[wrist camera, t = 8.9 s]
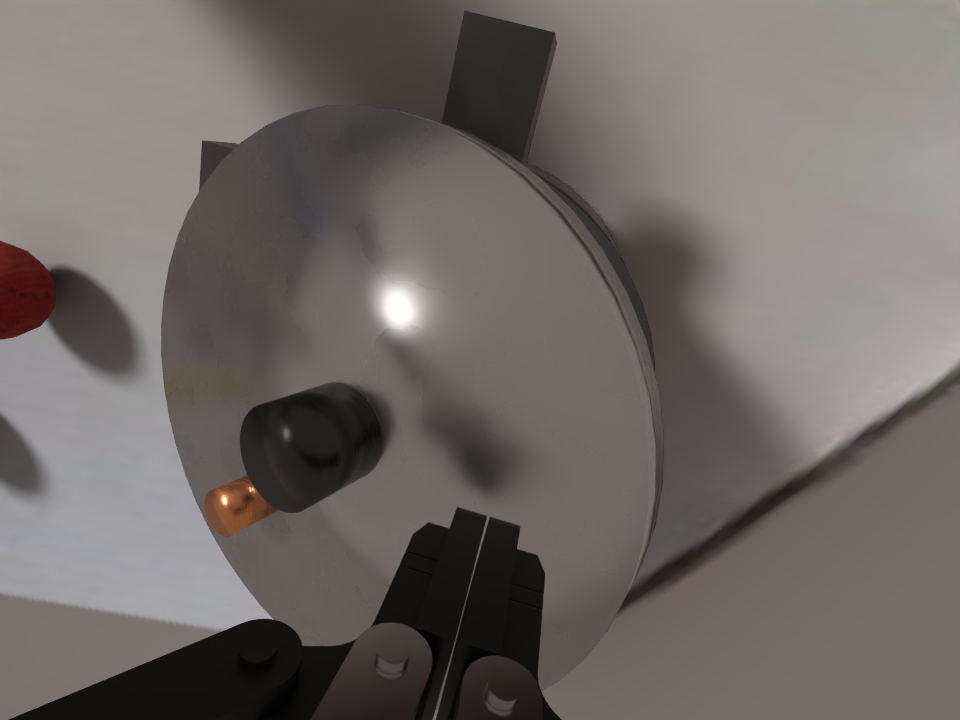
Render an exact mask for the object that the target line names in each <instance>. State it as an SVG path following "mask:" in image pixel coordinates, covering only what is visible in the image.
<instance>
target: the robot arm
mask: <svg viewBox="0 0 960 720" xmlns="http://www.w3.org/2000/svg"><path fill="white" fill-rule="evenodd" d="M486 519H487V516H486V515H483V514H479V513H476V512H473V511H469V510H466V509H463V508H459V507H457V509H456V511H455V514H454V517H453V520H452V523H451V525H450V528H446V527H443V526H439V525H436V524H433V523H430V522H428V523H427V524H425V525H424V526H423V527H421V528H420V529H419V530H418V531H416V532H415V533H414V534H413V535H412V538H411V540H410V542H409V544H408V547H407V549H406V552H405V554H404V556H403V558H402V560H401V562H400V565H399V568H398V569H397V571H396V574H395V576H394V578H393V580H392V583H391V585H390V587H389V589H388V592H387V594H386V596H385V598H384V600H383V603H382V605H381V607H380V609H379V612H378V614H377V616H376V618H375V620H374V622H373V624H372V626H371V627H370V628H368V629H367V630H365V631H364V632H363V633H362V634H361V635H360V636H359V637H358V638H357V639H355V640H353V641H351V642H348V643H345V644H342V645H336V646H302V641H301V639H300V637H299V635H298V634H297V633H296V631H295V630H294V629H293V628H291V627H290V626H289V625H287V624H285V623H283V622H280V621H277V620H272V619H256V620H251V621H247V622H244V623H241V624H239V625H237V626H234V627H232V628H229V629H227V630H225V631H222V632H220V633H217V634H215V635H212V636H210V637H208V638H205V639H203V640H200V641H198V642H195V643H193V644H191V645H188V646H186V647H183V648H181V649H179V650H176V651H174V652H171V653H169V654H167V655H164V656H162V657H159V658H157V659H154V660H152V661H150V662H147V663H145V664H142V665H140V666H137V667H135V668H133V669H130V670H128V671H125V672H123V673H121V674H118V675H116V676H113V677H111V678H108V679H106V680H104V681H101V682H99V683H96V684H94V685H91V686H89V687H87V688H84V689H82V690H79V691H77V692H74V693H72V694H70V695H68V696H65V697H62V698H60V699H58V700H55V701H53V702H50V703H48V704H45V705H43V706H41V707H39V708H36V709H33V710H31V711H28V712H26V713H24V714H21V715H19V716H16V717H14V718H12V719H9V720H432V719H433V716H434V713H435V709H436V706H437V702H438V699H439V695H440V692H441V688H442V685H443V681H444V678H445V674H446V671H447V668H448V664H449V661H450V657H451V654H452V650H453V647H454V643H455V640H456V643H455V647H454V651H453V654H452V658H451V662H450V666H449V670H448V674H447V678H446V682H445V686H444V690H443V694H442V698H441V701H440V705H439V709H438V714H437V717H436V720H561V719H560V718H559V717H558V716H557V715H556V714H555V713H554V711H553V710H552V709H551V708H550V707H549V705H548V703H547V702H546V700H545V699H544V696H543V695H542V692H541V689H540V686H539V681H538V663H539V650H540V637H541V625H542V609H543V599H544V597H543V595H544V586H545V572H544V570H543V567H542V565H541V562H540V560H539V557H538V555H535V554H532V553H529V552H526V551H522V550H519V549H517V546H518V540H519V533H520V525H516V524H513V523H510V522H506V521H503V520H500V519H496V518H493V517H490V518H489V521H488V525H487V528H486V532H485V535H484V539H483V542H482V546H481V549H480V552H479V556H478V559H477V563H476V566H475V562H476V558H477V554H478V550H479V546H480V542H481V538H482V535H483V531H484V527H485V523H486ZM474 566H475V570H474ZM473 570H474V573H473ZM472 573H473V577H472ZM471 577H472V581H471ZM470 581H471V584H470ZM469 585H470V588H469ZM468 589H469V592H468ZM467 593H468V596H467ZM466 597H467V600H466ZM465 601H466V604H465ZM464 605H465V607H464ZM463 609H464V611H463ZM462 612H463V615H462ZM461 616H462V619H461ZM460 620H461V623H460ZM459 624H460V627H459ZM458 628H459V631H458ZM457 632H458V635H457ZM456 636H457V639H456Z"/></svg>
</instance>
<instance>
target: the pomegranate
mask: <svg viewBox="0 0 960 720" xmlns="http://www.w3.org/2000/svg"><path fill="white" fill-rule="evenodd" d="M55 301H56V286H55V284H54V281H53V279H52V276H51V275H50V273H49V272H48V270H47V269H46V268H45V266H44V265H43V264H42V263H41V262H40V261H38V260H37V259H36V258H35V257H34V256H32V255H31V254H30V253H29V252H28V251H25V250H23V249H21V248H18V247H16V246H13V245H10V244H7V243H5V242H2V241H0V340H1V339H7V338H14V337H16V336H19V335H21V334H24V333H26V332H28V331H31V330H33V329H35V328H37V327H40V326H41V325H42V324H43V323H44V322H45V320H46V319H47V318H48V317H49V315H50V314H51V312H52V310H53V309H54V307H55Z"/></svg>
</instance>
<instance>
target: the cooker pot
mask: <svg viewBox="0 0 960 720" xmlns="http://www.w3.org/2000/svg"><path fill="white" fill-rule="evenodd" d="M556 45H557V41H556V36H555V33H554V32H550V31H546V30H542V29H538V28H534V27H529V26H525V25H521V24H517V23H513V22H509V21H505V20H501V19H496V18H492V17H488V16H484V15H480V14H476V13H472V12H468V11H464V16H463V21H462V26H461V31H460V36H459V41H458V46H457V51H456V56H455V61H454V66H453V71H452V76H451V81H450V86H449V91H448V96H447V101H446V106H445V111H444V116H443V121H442V124H445V125H448V126H451V127H454V128H457V129H460V130H462V131H465V132H468V133H471V134H473V135H474V136H476V137H478V138H480V139H482V140H484V141H486V142H488V143H489V144H491V145H493V146H495V147H497V148H499V149H501V150H503V151H504V152H506V153H507V154H509V155H510V156H511V157H513V158H514V159H516V160H517V161H518V162H520V163H521V164H522V165H524V166H525V167H526V168H528V169H529V170H530V171H532V172H533V173H534V174H536V175H537V176H538V177H540V178H541V179H542V180H543V181H544V182H545V183H546V184H547V185H548V186H549V187H550V188H551V189H552V190H553V191H554V192H555V193H556V194H557V195H558V196H559V197H560V198H561V199H562V200H563V201H564V202H565V203H566V204H567V205H568V206H569V207H570V208H571V209H572V210H573V211H574V212H575V214H576V215H577V216H578V218H579V219H580V220H581V222H582V223H583V224H584V226H585V227H586V228H587V230H588V231H589V232H590V234H591V235H592V236H593V238H594V239H595V240H596V242H597V243H598V244H599V246H600V247H601V248H602V250H603V251H604V253H605V255H606V256H607V258H608V260H609V262H610V263H611V265H612V267H613V269H614V271H615V272H616V274H617V276H618V278H619V279H620V281H621V283H622V285H623V287H624V288H625V290H626V292H627V294H628V296H629V299H630V301H631V304H632V306H633V309H634V311H635V314H636V316H637V319H638V321H639V324H640V326H641V328H642V331H643V333H644V336H645V338H646V341H647V345H648V349H649V353H650V357H651V361H652V365H653V369H654V373H655V361H654V354H653V346H652V338H651V333H650V329H649V325H648V322H647V318H646V315H645V311H644V308H643V304H642V302H641V299H640V297H639V295H638V293H637V290H636V288H635V286H634V283H633V281H632V279H631V277H630V274H629V272H628V270H627V268H626V266H625V264H624V262H623V260H622V258H621V256H620V254H619V252H618V250H617V248H616V246H615V243H614V241H613V239H612V237H611V235H610V234H609V232H608V230H607V229H606V227H605V226H604V224H603V222H602V221H601V219H600V218H599V216H598V215H597V214H596V213H595V211H594V210H593V209H592V208H591V207H590V205H589V204H588V203H587V202H586V201H585V200H584V199H583V198H582V197H581V196H580V195H579V194H578V193H576V192H575V191H574V190H573V189H572V188H571V187H570V186H568V185H567V184H565V183H564V182H562V181H561V180H560V179H558V178H557V177H555V176H554V175H552V174H550V173H548V172H546V171H544V170H542V169H540V168H538V167H536V166H534V165H531V164H528V163H526V162H527V158H528V154H529V150H530V146H531V142H532V138H533V134H534V131H535V127H536V123H537V119H538V115H539V111H540V107H541V104H542V100H543V96H544V92H545V88H546V84H547V80H548V76H549V73H550V69H551V65H552V61H553V57H554V53H555V49H556ZM238 145H239V144H236V143H226V142H214V141H202V153H201V170H200V187H199V191H200V189H201V188H202V186H203V184H204V183H205V182H206V180H207V179H208V178H209V177H210V175H211V174H212V173H213V171H214V170H215V169H216V167H217V166H218V165H219V164H220V162H221V161H222V160H223V159H224V158H225V157H226V156H228V155H229V154H230V153H231V152H232V151H233V150H234V149H235V148H236V147H237V146H238Z"/></svg>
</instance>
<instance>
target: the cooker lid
mask: <svg viewBox="0 0 960 720" xmlns="http://www.w3.org/2000/svg"><path fill="white" fill-rule="evenodd" d="M161 356H162V368H163V379H164V388H165V395H166V401H167V407H168V413H169V418H170V422H171V426H172V430H173V434H174V439H175V443H176V446H177V450H178V453H179V456H180V459H181V462H182V465H183V468H184V472H185V475H186V477H187V480H188V482H189V485H190V487H191V490H192V492H193V495H194V497H195V500H196V502H197V504H198V506H199V508H200V511H201V513H202V515H203V517H204V519H205V521H206V523H207V525H208V527H209V529H210V531H211V533H212V535H213V536H214V538H215V540H216V542H217V543H218V545H219V547H220V548H221V550H222V552H223V554H224V555H225V557H226V559H227V560H228V562H229V563H230V565H231V566H232V567H233V569H234V570H235V572H236V573H237V575H238V576H239V578H240V579H241V581H242V582H243V583H244V585H245V586H246V587H247V589H248V590H249V591H250V592H251V594H252V595H253V596H254V597H255V599H256V600H257V601H258V602H259V604H260V605H261V606H262V607H263V608H264V609H265V610H266V612H267V613H268V614H269V615H270V616H271V617H272V618H273V619H274V620H277V621H280V622H283V623H285V624H287V625H289V626H290V627H291V628H293V629H294V630H295V631H296V633H297V634H298V635H299V637H300V639H301V641H302V646H336V645H342V644H345V643H348V642H351V641H353V640H355V639H357V638H358V637H359V636H360V635H361V634H362V633H363V632H364V631H365V630H367V629H368V628H370V627H371V626H372V624H373V622H374V620H375V618H376V616H377V614H378V612H379V609H380V607H381V605H382V603H383V600H384V598H385V596H386V594H387V592H388V589H389V587H390V585H391V583H392V580H393V578H394V576H395V574H396V571H397V569H398V568H399V565H400V562H401V560H402V558H403V556H404V554H405V552H406V549H407V547H408V544H409V542H410V540H411V538H412V535H413V534H414V533H415V532H416V531H418V530H419V529H420V528H421V527H423V526H424V525H425V524H427V523H428V522H430V523H433V524H436V525H439V526H443V527H446V528H450V525H451V523H452V520H453V517H454V514H455V511H456V509H457V507H459V508H463V509H466V510H469V511H473V512H476V513H479V514H483V515H486V516H487V519H486V523H485V527H484V531H483V535H482V538H481V542H480V546H479V550H478V554H477V558H476V562H475V566H476V563H477V559H478V556H479V552H480V549H481V546H482V542H483V539H484V535H485V532H486V528H487V525H488V521H489V518H490V517H493V518H496V519H500V520H503V521H506V522H510V523H513V524H516V525H520V533H519V540H518V546H517V549H519V550H522V551H526V552H529V553H532V554H535V555H538V557H539V560H540V562H541V565H542V567H543V570H544V572H545V586H544V595H543V597H544V599H543V609H542V625H541V637H540V650H539V663H538V681H539V686H540V689H541V691H542V690H544V689H545V688H547V687H549V686H551V685H553V684H555V683H557V682H558V681H559V680H561V678H563V677H564V676H565V675H566V674H568V673H569V672H570V671H571V670H572V669H574V668H575V667H576V666H577V665H578V664H580V663H581V662H582V661H583V660H584V659H585V658H586V657H587V655H588V654H589V653H590V652H591V651H592V649H593V648H594V647H595V646H596V644H597V643H598V642H599V641H600V639H601V638H602V637H603V636H604V634H605V633H606V632H607V631H608V629H609V627H610V625H611V623H612V621H613V620H614V618H615V616H616V614H617V612H618V610H619V609H620V607H621V605H622V603H623V601H624V599H625V598H626V596H627V594H628V592H629V590H630V587H631V585H632V583H633V581H634V579H635V577H636V575H637V573H638V571H639V569H640V567H641V565H642V563H643V560H644V557H645V554H646V551H647V548H648V545H649V542H650V540H651V537H652V534H653V531H654V528H655V525H656V519H657V513H658V508H659V502H660V496H661V490H662V485H663V459H664V431H663V423H662V414H661V405H660V397H659V388H658V384H657V380H656V377H655V373H654V369H653V365H652V361H651V357H650V353H649V349H648V345H647V341H646V338H645V336H644V333H643V331H642V328H641V326H640V324H639V321H638V319H637V316H636V314H635V311H634V309H633V306H632V304H631V301H630V299H629V296H628V294H627V292H626V290H625V288H624V287H623V285H622V283H621V281H620V279H619V278H618V276H617V274H616V272H615V271H614V269H613V267H612V265H611V263H610V262H609V260H608V258H607V256H606V255H605V253H604V251H603V250H602V248H601V247H600V246H599V244H598V243H597V242H596V240H595V239H594V238H593V236H592V235H591V234H590V232H589V231H588V230H587V228H586V227H585V226H584V224H583V223H582V222H581V220H580V219H579V218H578V216H577V215H576V214H575V212H574V211H573V210H572V209H571V208H570V207H569V206H568V205H567V204H566V203H565V202H564V201H563V200H562V199H561V198H560V197H559V196H558V195H557V194H556V193H555V192H554V191H553V190H552V189H551V188H550V187H549V186H548V185H547V184H546V183H545V182H544V181H543V180H542V179H541V178H540V177H538V176H537V175H536V174H534V173H533V172H532V171H530V170H529V169H528V168H526V167H525V166H524V165H522V164H521V163H520V162H518V161H517V160H516V159H514V158H513V157H511V156H510V155H509V154H507V153H506V152H504V151H503V150H501V149H499V148H497V147H495V146H493V145H491V144H489V143H488V142H486V141H484V140H482V139H480V138H478V137H476V136H474V135H473V134H471V133H468V132H465V131H462V130H460V129H457V128H454V127H451V126H448V125H445V124H442V123H439V122H436V121H433V120H430V119H426V118H423V117H420V116H416V115H413V114H410V113H406V112H403V111H400V110H394V109H388V108H381V107H375V106H368V105H362V104H359V105H327V106H323V107H318V108H314V109H309V110H305V111H300V112H296V113H293V114H291V115H289V116H286V117H284V118H282V119H280V120H277V121H275V122H273V123H270V124H268V125H266V126H265V127H263V128H262V129H260V130H259V131H257V132H256V133H254V134H253V135H251V136H250V137H248V138H247V139H245V140H244V141H242V142H241V143H240V144H239V145H238V146H237V147H236V148H235V149H234V150H233V151H232V152H231V153H230V154H229V155H228V156H226V157H225V158H224V159H223V160H222V161H221V162H220V164H219V165H218V166H217V167H216V169H215V170H214V171H213V173H212V174H211V175H210V177H209V178H208V179H207V180H206V182H205V183H204V184H203V186H202V188H201V189H200V191H199V193H198V195H197V196H196V198H195V200H194V202H193V203H192V205H191V207H190V209H189V210H188V213H187V215H186V218H185V220H184V222H183V225H182V227H181V230H180V232H179V235H178V237H177V240H176V244H175V247H174V251H173V254H172V258H171V261H170V265H169V269H168V275H167V280H166V286H165V292H164V299H163V311H162V323H161ZM475 566H474V570H475ZM474 570H473V573H474ZM473 573H472V577H473ZM472 577H471V581H472ZM471 581H470V584H471ZM469 588H470V585H469ZM468 592H469V589H468ZM467 596H468V593H467ZM466 600H467V597H466ZM465 604H466V601H465ZM464 607H465V605H464ZM463 611H464V609H463ZM462 615H463V612H462ZM461 619H462V616H461ZM460 623H461V620H460ZM459 627H460V624H459ZM458 631H459V628H458ZM457 635H458V632H457ZM456 639H457V636H456ZM455 643H456V640H455ZM455 643H454V647H455ZM454 647H453V650H452V654H453V651H454ZM452 654H451V657H450V661H449V664H448V668H447V671H446V674H445V678H444V681H443V685H442V688H441V692H440V695H439V699H438V702H437V706H436V710H438V709H439V705H440V701H441V698H442V694H443V690H444V686H445V682H446V678H447V674H448V670H449V666H450V662H451V658H452Z"/></svg>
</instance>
